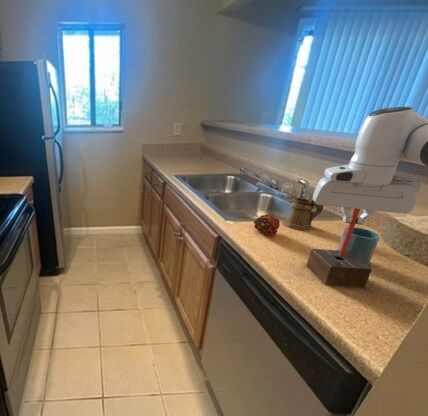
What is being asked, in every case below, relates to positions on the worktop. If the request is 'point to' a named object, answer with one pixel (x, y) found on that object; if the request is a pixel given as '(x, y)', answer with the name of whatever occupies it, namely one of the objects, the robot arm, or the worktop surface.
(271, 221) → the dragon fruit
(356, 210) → the straw
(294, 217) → the wooden mug
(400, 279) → the worktop surface
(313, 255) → the block
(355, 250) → the cup
